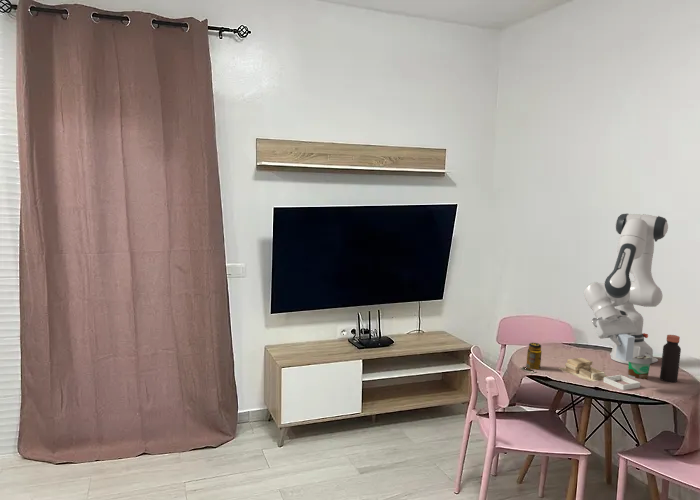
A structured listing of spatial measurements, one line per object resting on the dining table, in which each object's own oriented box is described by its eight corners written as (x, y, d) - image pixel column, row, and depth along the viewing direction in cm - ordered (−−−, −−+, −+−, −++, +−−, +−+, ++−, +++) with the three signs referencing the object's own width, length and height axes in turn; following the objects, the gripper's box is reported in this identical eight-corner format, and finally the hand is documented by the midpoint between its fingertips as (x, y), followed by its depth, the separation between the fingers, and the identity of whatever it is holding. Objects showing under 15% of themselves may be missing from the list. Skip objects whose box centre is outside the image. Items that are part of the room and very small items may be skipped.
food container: (638, 383, 250) (640, 361, 249) (625, 378, 255) (628, 356, 254) (656, 379, 256) (658, 357, 254) (643, 375, 261) (646, 353, 260)
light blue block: (622, 356, 246) (624, 333, 245) (632, 360, 242) (634, 336, 241) (615, 357, 245) (618, 334, 243) (625, 361, 240) (628, 337, 239)
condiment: (544, 370, 262) (546, 345, 261) (531, 373, 257) (533, 347, 256) (531, 366, 268) (533, 340, 267) (518, 368, 263) (520, 343, 262)
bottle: (679, 381, 255) (685, 336, 252) (672, 383, 251) (678, 339, 248) (664, 376, 260) (668, 333, 258) (656, 379, 256) (661, 335, 254)
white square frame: (619, 381, 251) (620, 374, 251) (639, 389, 242) (640, 382, 242) (603, 384, 247) (603, 377, 247) (622, 392, 238) (623, 385, 238)
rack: (580, 367, 269) (581, 360, 268) (612, 380, 252) (613, 372, 252) (558, 370, 263) (558, 363, 262) (589, 384, 247) (589, 376, 246)
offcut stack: (581, 367, 266) (582, 357, 265) (591, 371, 260) (592, 361, 260) (564, 369, 262) (565, 359, 261) (574, 373, 256) (575, 363, 256)
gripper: (594, 314, 244) (611, 343, 236) (629, 311, 252) (646, 339, 245) (585, 322, 248) (601, 350, 241) (619, 319, 257) (636, 346, 249)
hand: (624, 345), depth 243 cm, fingers closed on light blue block, 4 cm apart
